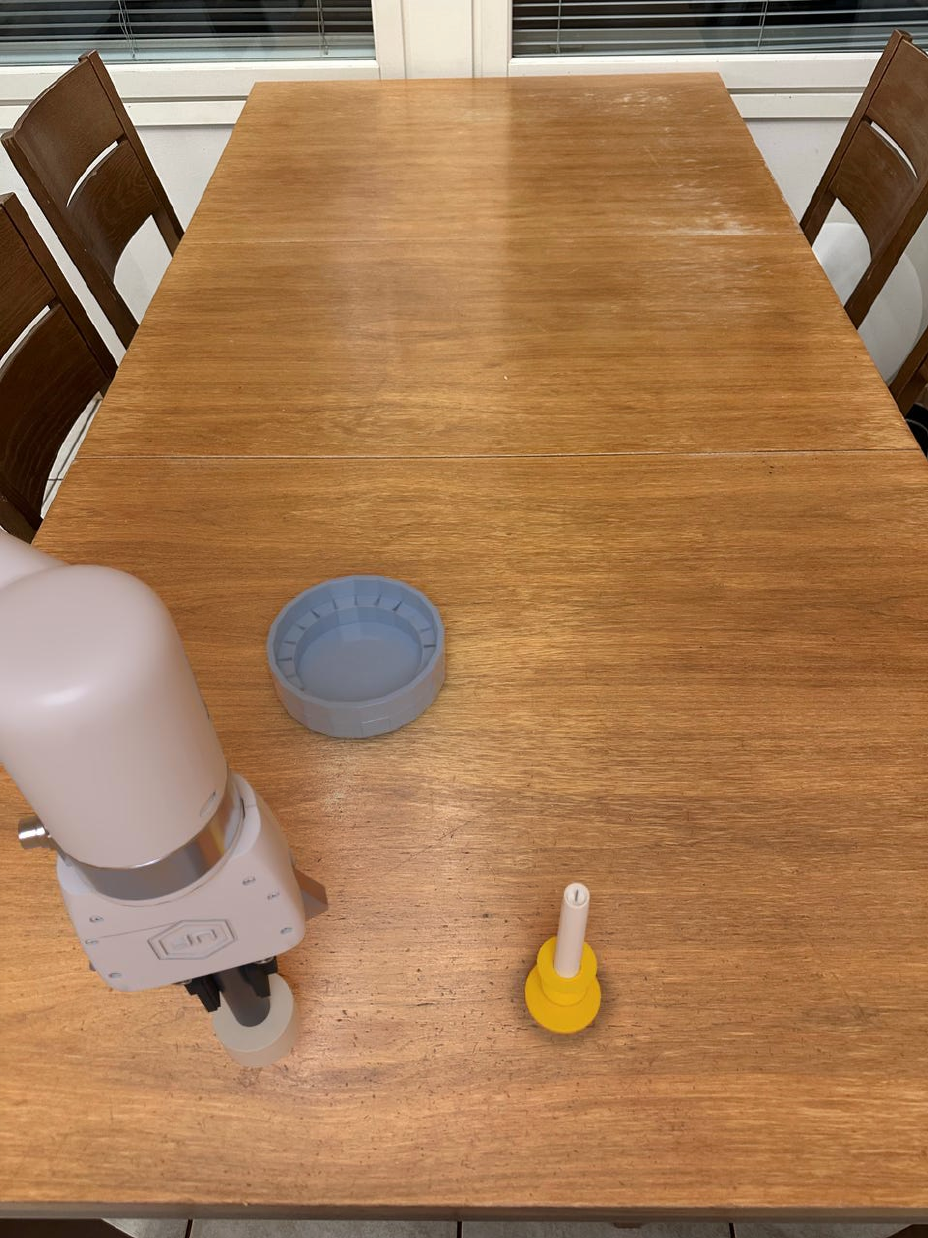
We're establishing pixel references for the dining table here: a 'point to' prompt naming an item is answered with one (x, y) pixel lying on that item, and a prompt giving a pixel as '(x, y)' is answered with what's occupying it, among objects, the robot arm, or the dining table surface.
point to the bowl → (357, 655)
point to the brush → (255, 1019)
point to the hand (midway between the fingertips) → (237, 978)
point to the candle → (566, 971)
